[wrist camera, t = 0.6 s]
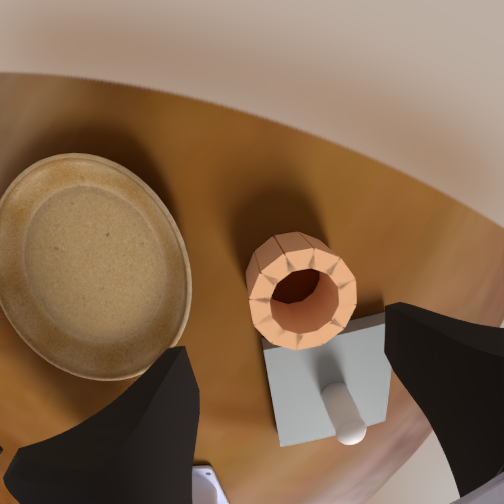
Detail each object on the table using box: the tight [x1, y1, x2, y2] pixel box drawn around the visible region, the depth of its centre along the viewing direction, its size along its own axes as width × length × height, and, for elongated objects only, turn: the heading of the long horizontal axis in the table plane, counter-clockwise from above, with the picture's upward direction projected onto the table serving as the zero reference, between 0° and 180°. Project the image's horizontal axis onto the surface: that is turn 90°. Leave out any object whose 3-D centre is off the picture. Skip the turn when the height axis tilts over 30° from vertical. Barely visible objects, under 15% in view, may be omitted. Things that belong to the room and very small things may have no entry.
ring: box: [245, 232, 357, 350], centre depth 18 cm, size 6×6×4 cm
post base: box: [261, 312, 391, 447], centre depth 19 cm, size 10×9×6 cm
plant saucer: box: [0, 153, 192, 381], centre depth 18 cm, size 15×15×3 cm
